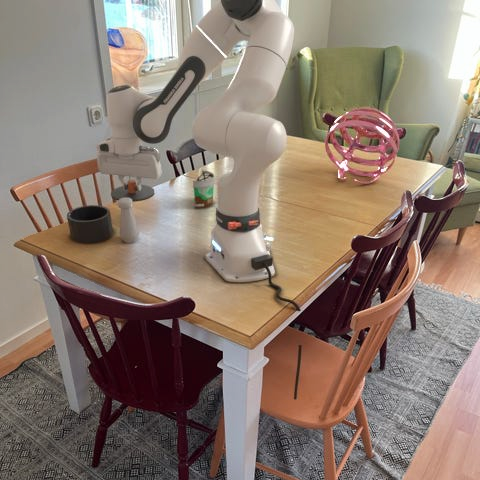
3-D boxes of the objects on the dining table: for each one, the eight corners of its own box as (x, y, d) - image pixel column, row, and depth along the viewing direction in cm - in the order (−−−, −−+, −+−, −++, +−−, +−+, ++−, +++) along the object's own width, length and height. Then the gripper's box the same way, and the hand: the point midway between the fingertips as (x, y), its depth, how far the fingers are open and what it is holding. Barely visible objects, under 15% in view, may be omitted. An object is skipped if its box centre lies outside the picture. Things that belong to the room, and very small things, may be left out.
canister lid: (157, 201, 150) (156, 186, 147) (112, 205, 147) (110, 190, 144) (152, 186, 160) (150, 172, 158) (110, 190, 157) (108, 175, 155)
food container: (211, 211, 164) (210, 183, 158) (194, 210, 165) (192, 181, 159) (219, 198, 174) (219, 171, 168) (203, 197, 175) (202, 169, 169)
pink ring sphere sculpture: (374, 145, 161) (398, 86, 169) (303, 151, 178) (327, 96, 186) (395, 198, 182) (415, 143, 190) (330, 199, 199) (351, 148, 207)
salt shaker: (130, 245, 142) (125, 204, 135) (116, 241, 145) (110, 200, 137) (143, 238, 146) (139, 197, 139) (129, 234, 149) (124, 194, 141)
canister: (114, 240, 145) (111, 219, 141) (71, 245, 142) (66, 223, 138) (111, 224, 155) (108, 203, 151) (71, 228, 152) (67, 207, 148)
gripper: (162, 144, 145) (166, 189, 153) (101, 139, 149) (108, 182, 157) (154, 150, 140) (158, 196, 148) (91, 145, 144) (99, 189, 152)
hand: (132, 189), depth 152 cm, fingers closed on canister lid, 2 cm apart
